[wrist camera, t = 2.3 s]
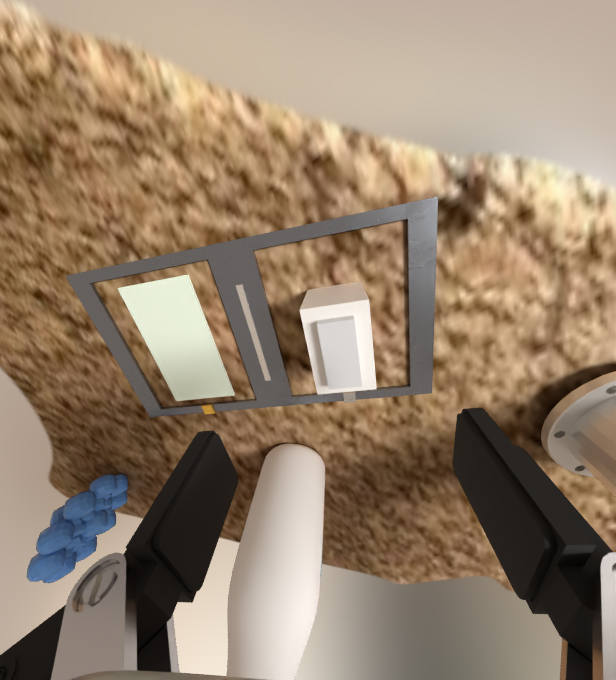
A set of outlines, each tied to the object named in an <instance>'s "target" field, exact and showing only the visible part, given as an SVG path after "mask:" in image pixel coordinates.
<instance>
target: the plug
mask: <svg viewBox="0 0 616 680" xmlns="http://www.w3.org/2000/svg"><path fill="white" fill-rule="evenodd" d="M300 315H301V319H302V324H303V329H304V333H305V338H306V343H307V348H308V352H309V357H310V362H311V366H312V371H313V376H314V380H315V385H316V390H317V394H329V393H340V392H351V391H363V390H374V389H377V388H376V376H375V365H374V353H373V342H372V330H371V318H370V307H369V299H368V296H367V294H366V292H365V290H364V288H363V286H362V283H361V281H358V282H352V283H346V284H340V285H334V286H328V287H322V288H316V289H310V290H307V293H306V295H305V298H304V300H303V303H302V305H301V307H300Z"/></svg>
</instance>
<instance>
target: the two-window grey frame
mask: <svg viewBox="0 0 616 680" xmlns="http://www.w3.org/2000/svg"><path fill="white" fill-rule="evenodd" d="M437 213H438V197H434V198H429V199H425V200H420V201H415V202H411V203H406V204H401V205H396V206H392V207H387V208H382V209H378V210H373V211H368V212H364V213H359V214H354V215H350V216H345V217H340V218H336V219H331V220H326V221H322V222H317V223H312V224H307V225H303V226H298V227H293V228H289V229H284V230H279V231H275V232H270V233H265V234H261V235H256V236H251V237H247V238H242V239H237V240H232V241H228V242H223V243H218V244H214V245H209V246H204V247H200V248H195V249H190V250H186V251H181V252H176V253H172V254H167V255H162V256H158V257H153V258H148V259H143V260H139V261H134V262H129V263H125V264H120V265H115V266H111V267H106V268H101V269H97V270H92V271H87V272H83V273H78V274H73V275H68V276H66V278H67V279H68V281H69V283H70V284H71V286H72V288H73V289H74V291H75V293H76V294H77V296H78V298H79V299H80V301H81V303H82V304H83V306H84V308H85V309H86V311H87V313H88V314H89V316H90V318H91V319H92V321H93V323H94V324H95V326H96V328H97V329H98V331H99V333H100V334H101V336H102V338H103V339H104V341H105V343H106V344H107V346H108V348H109V349H110V351H111V353H112V354H113V356H114V358H115V359H116V361H117V363H118V364H119V366H120V368H121V369H122V371H123V373H124V374H125V376H126V378H127V379H128V381H129V383H130V384H131V386H132V388H133V389H134V391H135V393H136V394H137V396H138V398H139V399H140V401H141V403H142V404H143V406H144V408H145V409H146V411H147V413H148V414H149V416H150V417H157V416H169V415H181V414H193V413H205V414H214V413H215V412H216V411H228V410H240V409H251V408H263V407H275V406H287V405H298V404H310V403H322V402H334V401H344V402H345V403H346V402H356V400H357V399H369V398H381V397H393V396H404V395H416V394H428V393H432V376H433V343H434V310H435V278H436V245H437ZM404 219H407V254H408V315H409V375H410V385H404V386H393V387H382V388H377V389H374V390H363V391H351V392H340V393H329V394H306V395H295V396H293V395H292V391H291V387H290V384H289V380H288V376H287V372H286V369H285V365H284V361H283V357H282V354H281V350H280V346H279V342H278V339H277V335H276V331H275V327H274V324H273V320H272V316H271V312H270V309H269V305H268V301H267V297H266V294H265V290H264V286H263V282H262V279H261V275H260V271H259V267H258V264H257V260H256V256H255V252H254V250H256V249H261V248H266V247H271V246H276V245H281V244H285V243H290V242H295V241H300V240H305V239H310V238H315V237H320V236H325V235H330V234H335V233H340V232H345V231H350V230H354V229H359V228H364V227H369V226H374V225H379V224H384V223H389V222H394V221H399V220H404ZM207 259H208V261H209V264H210V267H211V270H212V273H213V276H214V278H215V281H216V284H217V287H218V290H219V293H220V296H221V299H222V301H223V304H224V307H225V310H226V313H227V316H228V319H229V322H230V325H231V327H232V330H233V333H234V336H235V339H236V342H237V345H238V348H239V350H240V353H241V356H242V359H243V362H244V365H245V368H246V371H247V373H248V376H249V379H250V382H251V385H252V388H253V391H254V394H255V397H256V399H251V400H241V401H230V402H219V403H208V404H197V405H186V406H175V407H164V408H162V406H161V404H160V402H159V400H158V399H157V397H156V395H155V393H154V391H153V390H152V388H151V386H150V384H149V382H148V381H147V379H146V377H145V375H144V374H143V372H142V370H141V368H140V366H139V365H138V363H137V361H136V359H135V357H134V356H133V354H132V352H131V350H130V349H129V347H128V345H127V343H126V341H125V340H124V338H123V336H122V334H121V332H120V331H119V329H118V327H117V325H116V324H115V322H114V320H113V318H112V316H111V315H110V313H109V311H108V309H107V307H106V306H105V304H104V302H103V300H102V298H101V297H100V295H99V293H98V291H97V290H96V288H95V286H94V284H93V282H98V281H103V280H108V279H113V278H118V277H123V276H128V275H133V274H138V273H143V272H148V271H152V270H157V269H162V268H167V267H172V266H177V265H182V264H187V263H192V262H197V261H202V260H207Z"/></svg>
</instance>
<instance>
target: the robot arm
mask: <svg viewBox="0 0 616 680" xmlns="http://www.w3.org/2000/svg"><path fill="white" fill-rule="evenodd" d="M541 441H542V445H543V448H544V449H545V451H546V452H547V454H548V455H549V456H550V457H551V458H552V459H553V460H554V461H555V462H556V463H557V464H558V465H560V466H561V467H563V468H564V469H566V470H568V471H571V472H573V473H577V474H581V475H586V476H593V477H596V478H597V479H598V480H599V481H600V482H601V483H602V484H603V485H604V486H605V487H606V488H607V489H608V490H609V491H610V492H611V493H612V494H613V495H614V496H615V497H616V371H614V372H611V373H608V374H605V375H602V376H600V377H598V378H596V379H593V380H591V381H589V382H587V383H585V384H583V385H582V386H580V387H578V388H577V389H575V390H574V391H572V392H571V393H569V394H568V395H567V396H566V397H564V398H563V399H562V400H561V401H560V402H559V403H558V404H557V405H556V406H555V407H554V408H553V409H552V410H551V412H550V413H549V415H548V416H547V418H546V420H545V422H544V425H543V427H542V430H541ZM453 468H454V472H455V474H456V476H457V478H458V480H459V482H460V484H461V486H462V488H463V490H464V492H465V494H466V496H467V498H468V500H469V502H470V504H471V506H472V508H473V510H474V512H475V514H476V516H477V518H478V520H479V522H480V524H481V526H482V528H483V530H484V532H485V534H486V536H487V538H488V540H489V542H490V544H491V546H492V548H493V549H494V551H495V553H496V555H497V557H498V559H499V561H500V563H501V565H502V567H503V569H504V571H505V573H506V575H507V577H508V579H509V581H510V583H511V585H512V587H513V589H514V591H515V593H516V594H517V595H518V597H519V598H520V599H522V600H526V602H527V603H528V606H529V608H530V609H531V611H532V613H533V614H548V615H549V617H550V619H551V621H552V622H553V624H554V626H555V628H556V630H557V631H558V633H559V635H560V636H561V637H562V652H561V669H560V680H616V552H613V551H612V550H611V549H610V548H609V547H608V545H607V544H606V543H605V542H604V541H603V540H602V539H601V537H600V536H599V535H598V534H597V533H596V532H595V530H594V529H593V528H592V527H591V526H590V525H589V523H588V522H587V521H586V520H585V519H584V518H583V517H582V515H581V514H580V513H579V512H578V511H577V510H576V508H575V507H574V506H573V505H572V504H571V503H570V501H569V500H568V499H567V498H566V497H565V496H564V495H563V493H562V492H561V491H560V490H559V489H558V488H557V486H556V485H555V484H554V483H553V482H552V481H551V479H550V478H549V477H548V476H547V475H546V474H545V473H544V471H543V470H542V469H541V468H540V467H539V466H538V464H537V463H536V462H535V461H534V460H533V459H532V457H531V456H530V455H529V454H528V453H527V452H526V451H525V450H524V449H523V448H521V447H520V446H516V445H513V443H512V442H511V441H510V440H509V439H508V437H507V436H506V435H505V434H504V433H503V431H502V430H501V429H500V428H499V427H498V425H497V424H496V423H495V422H494V421H493V419H492V418H491V417H490V416H489V415H488V413H487V412H486V411H485V410H484V409H483V408H470V409H463V410H462V413H461V414H458V415H457V423H456V433H455V444H454V454H453ZM237 484H238V474H237V472H236V470H235V468H234V466H233V464H232V462H231V459H230V457H229V455H228V453H227V451H226V449H225V447H224V445H223V443H222V440H221V438H220V436H219V435H218V434H216V433H215V432H214V431H202V432H198V433H197V434H196V436H195V437H194V439H193V441H192V442H191V444H190V445H189V447H188V449H187V450H186V452H185V453H184V455H183V457H182V458H181V460H180V461H179V463H178V465H177V466H176V468H175V469H174V471H173V473H172V474H171V476H170V477H169V479H168V481H167V482H166V484H165V485H164V487H163V489H162V490H161V492H160V493H159V495H158V497H157V498H156V500H155V501H154V503H153V505H152V506H151V508H150V509H149V511H148V512H147V514H146V516H145V517H144V519H143V520H142V522H141V524H140V525H139V527H138V528H137V530H136V532H135V534H134V535H133V536H132V538H131V540H130V541H129V543H128V545H127V546H126V548H127V550H126V551H125V553H124V555H122V554H121V553H113V554H109V555H107V556H105V557H103V558H102V559H100V560H99V561H97V562H96V563H95V564H94V565H92V566H91V567H90V568H89V569H88V570H87V571H86V572H85V573H84V574H83V575H82V577H81V578H80V579H79V581H78V582H77V583H76V585H75V586H74V588H73V589H72V591H71V593H70V595H69V597H68V600H67V604H66V605H65V606H64V607H62V608H61V609H60V610H58V611H57V612H56V613H55V614H53V615H52V616H51V617H50V618H48V619H47V620H46V621H44V622H43V623H42V624H40V625H39V626H38V627H37V628H35V629H34V630H33V631H31V632H30V633H29V634H27V635H26V636H25V637H24V638H22V639H21V640H20V641H18V642H17V643H16V644H14V645H13V646H12V647H11V648H9V649H8V650H7V651H5V652H4V653H3V654H1V655H0V680H268V679H255V678H242V677H229V676H215V675H203V674H190V673H179V664H178V655H177V646H176V638H175V629H174V620H173V612H174V609H175V607H176V604H177V602H193V600H194V597H195V594H196V592H197V591H198V590H200V588H201V587H202V585H203V582H204V579H205V576H206V574H207V571H208V568H209V565H210V562H211V559H212V556H213V553H214V550H215V548H216V545H217V542H218V539H219V536H220V533H221V531H222V528H223V525H224V522H225V519H226V516H227V513H228V510H229V508H230V505H231V502H232V499H233V496H234V493H235V490H236V488H237Z"/></svg>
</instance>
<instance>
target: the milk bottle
mask: <svg viewBox="0 0 616 680" xmlns="http://www.w3.org/2000/svg"><path fill="white" fill-rule="evenodd" d="M324 496H325V465H324V462H323V460H322V458H321V457H320V456H319V454H318V453H316V452H315V451H314V450H312V449H311V448H309V447H306V446H304V445H300V444H293V443H292V444H282V445H279V446H276V447H275V448H273V449H272V450H271V451H270V452H269V453H268V454H267V456H266V457H265V460H264V463H263V466H262V470H261V473H260V476H259V480H258V483H257V487H256V490H255V493H254V497H253V500H252V503H251V507H250V510H249V514H248V517H247V521H246V524H245V528H244V531H243V535H242V538H241V542H240V545H239V549H238V553H237V557H236V560H235V564H234V568H233V572H232V577H231V582H230V588H229V596H228V665H227V676H229V677H242V678H255V679H268V680H295V677H296V673H297V670H298V666H299V663H300V660H301V657H302V654H303V652H304V649H305V646H306V644H307V641H308V638H309V636H310V633H311V630H312V626H313V623H314V619H315V615H316V611H317V605H318V600H319V592H320V580H321V566H322V546H323V523H324Z"/></svg>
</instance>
